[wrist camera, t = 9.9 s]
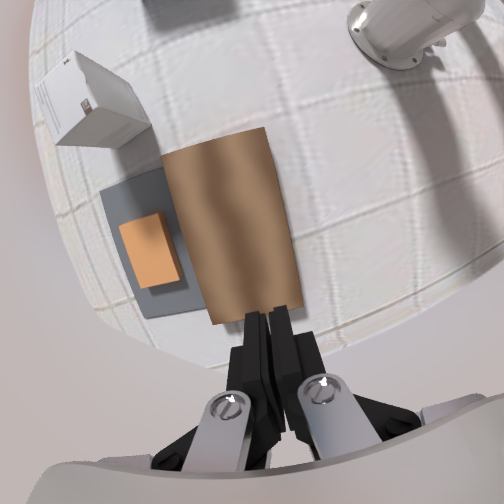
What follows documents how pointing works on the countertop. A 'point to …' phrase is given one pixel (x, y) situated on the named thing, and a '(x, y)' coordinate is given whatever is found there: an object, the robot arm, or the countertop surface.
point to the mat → (159, 199)
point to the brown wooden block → (234, 225)
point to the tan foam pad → (151, 250)
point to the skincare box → (89, 105)
